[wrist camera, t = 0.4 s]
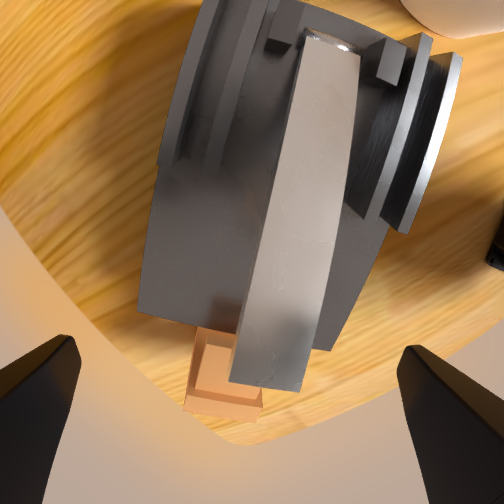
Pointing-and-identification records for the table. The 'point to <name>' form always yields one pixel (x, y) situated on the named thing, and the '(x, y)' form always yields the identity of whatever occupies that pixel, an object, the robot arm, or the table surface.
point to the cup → (458, 16)
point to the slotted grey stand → (265, 151)
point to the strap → (299, 218)
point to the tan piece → (218, 381)
